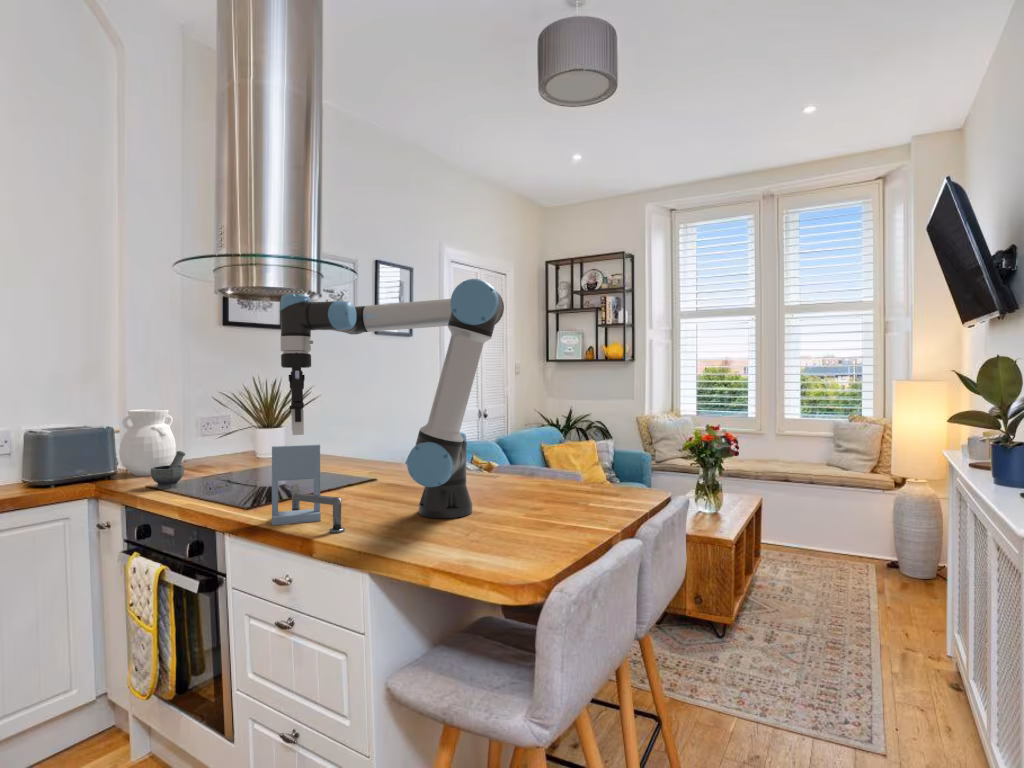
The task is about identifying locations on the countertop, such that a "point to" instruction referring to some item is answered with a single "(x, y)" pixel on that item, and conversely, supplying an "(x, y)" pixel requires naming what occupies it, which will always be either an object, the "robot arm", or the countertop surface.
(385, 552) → the countertop surface
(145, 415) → the white handled vase
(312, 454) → the blue-grey upright frame
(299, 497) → the grey bent bar frame
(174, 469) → the mortar and pestle
